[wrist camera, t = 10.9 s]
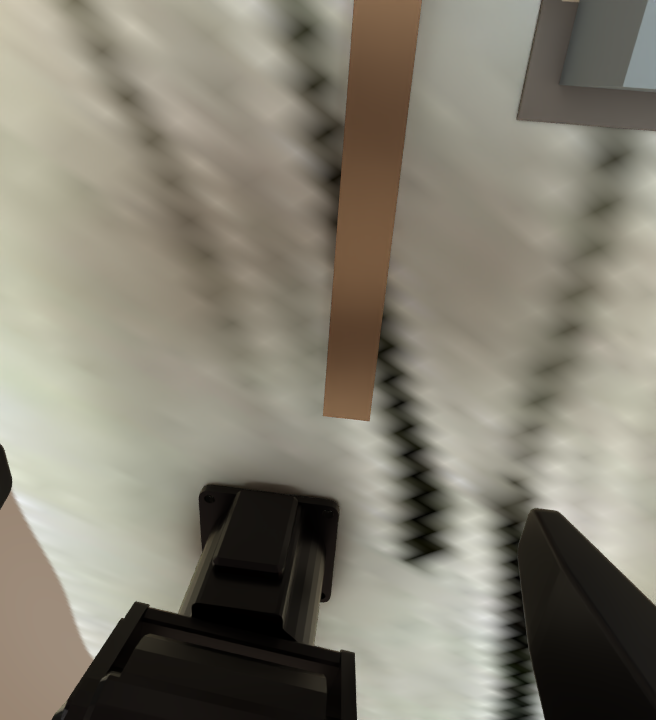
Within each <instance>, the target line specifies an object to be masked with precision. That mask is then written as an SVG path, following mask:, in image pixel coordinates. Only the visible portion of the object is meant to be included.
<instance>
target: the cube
mask: <svg viewBox="0 0 656 720" xmlns="http://www.w3.org/2000/svg"><path fill="white" fill-rule="evenodd" d="M559 85H569V86H581V87H594V88H606V89H619V90H631V91H644V92H656V0H580V1H579V5H578V9H577V13H576V17H575V21H574V25H573V29H572V33H571V37H570V42H569V46H568V50H567V54H566V58H565V62H564V66H563V70H562V74H561V79H560V83H559Z"/></svg>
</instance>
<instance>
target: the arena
mask: <svg viewBox="0 0 656 720" xmlns="http://www.w3.org/2000/svg"><path fill="white" fill-rule="evenodd" d="M579 1H580V0H542V2H541V7H540V12H539V16H538V21H537V26H536V31H535V35H534V40H533V45H532V49H531V54H530V59H529V63H528V68H527V73H526V78H525V82H524V87H523V92H522V96H521V101H520V106H519V110H518V115H517V120H525V121H537V122H550V123H562V124H575V125H588V126H600V127H613V128H625V129H638V130H651V131H656V92H644V91H631V90H619V89H606V88H594V87H581V86H569V85H559V83H560V79H561V74H562V70H563V66H564V62H565V58H566V54H567V50H568V46H569V42H570V37H571V33H572V29H573V25H574V21H575V17H576V13H577V9H578V5H579ZM421 3H422V0H354V9H353V23H352V36H351V49H350V63H349V76H348V89H347V103H346V116H345V129H344V143H343V156H342V169H341V183H340V196H339V209H338V222H337V236H336V249H335V262H334V276H333V289H332V302H331V316H330V329H329V342H328V356H327V369H326V382H325V396H324V409H323V416H328V417H337V418H345V419H354V420H363V421H369V420H370V412H371V404H372V396H373V388H374V380H375V372H376V364H377V356H378V348H379V340H380V332H381V324H382V316H383V308H384V300H385V292H386V284H387V276H388V268H389V260H390V252H391V244H392V236H393V228H394V220H395V212H396V204H397V196H398V188H399V180H400V172H401V164H402V156H403V148H404V140H405V132H406V124H407V116H408V108H409V100H410V91H411V83H412V75H413V67H414V59H415V51H416V43H417V35H418V27H419V19H420V11H421Z"/></svg>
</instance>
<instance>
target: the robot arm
mask: <svg viewBox="0 0 656 720" xmlns="http://www.w3.org/2000/svg"><path fill="white" fill-rule="evenodd" d="M11 487H12V476H11V472H10V469H9V465H8V461H7V458H6V454H5V450H4V448H3V446H2V445H1V444H0V509H1V507H2V506H3V504H4V502H5V500H6V499H7V497H8V495H9V493H10V491H11ZM208 495H211V496H213V497H209V496H208ZM199 510H200V526H201V543H202V555H201V557H200V560H199V562H198V565H197V567H196V570H195V572H194V575H193V577H192V580H191V582H190V585H189V587H188V590H187V592H186V595H185V597H184V600H183V602H182V605H181V607H180V610H179V612H178V614H177V613H172V612H168V611H164V610H160V609H155V608H151V607H149V606H150V605H149V604H145V603H141V602H137V601H135V603H134V604H133V606H132V607H131V609H130V610H129V612H128V613H127V615H126V616H125V618H121V619H120V621H119V622H118V624H117V626H116V627H115V629H114V630H113V632H112V633H111V635H110V636H109V638H108V639H107V641H106V642H105V644H104V645H103V647H102V648H101V650H100V651H99V653H98V654H97V656H96V657H95V659H94V660H93V662H92V663H91V665H90V666H89V668H88V669H87V671H86V672H85V674H84V675H83V677H82V679H81V680H80V682H79V683H78V685H77V686H76V688H75V689H74V691H73V692H72V694H71V695H70V697H69V699H68V700H67V701H66V702H65V703H64V704H63V705H62V707H61V708H60V709H59V710H58V711H57V712H56V713H55V715H54V716H53V718H52V720H357V707H356V678H355V653H354V652H349V651H345V650H340V652H338V651H334V650H330V649H326V648H321V647H317V646H314V642H315V635H316V627H317V620H318V613H319V605H320V602H327V601H328V600H329V599H330V596H331V587H332V578H333V568H334V558H335V548H336V539H337V529H338V519H339V505H338V504H337V503H336V502H334V501H332V500H328V499H320V498H312V497H303V496H295V495H287V494H279V493H271V492H263V491H255V490H247V489H239V488H231V487H223V486H215V485H207V486H204V487H203V488H202V490H201V492H200V495H199ZM325 510H330V511H332V512H326V511H325ZM518 564H519V572H520V581H521V589H522V597H523V606H524V614H525V623H526V631H527V639H528V646H529V652H530V657H531V662H532V667H533V671H534V675H535V679H536V684H537V688H538V692H539V697H540V701H541V705H542V709H543V714H544V718H545V720H656V606H655V605H654V604H653V603H652V602H651V601H650V600H649V599H648V598H647V597H646V596H645V595H644V594H643V593H642V592H641V591H640V590H639V589H638V588H637V587H636V586H635V585H634V584H633V583H632V582H631V581H630V580H629V579H628V578H627V577H626V576H625V575H624V574H623V573H622V572H621V571H620V570H618V569H617V568H616V567H615V566H614V565H613V564H612V563H611V562H610V561H609V560H608V559H607V558H606V557H605V556H604V555H603V554H602V553H601V552H600V551H599V550H598V549H597V548H596V547H595V546H594V545H593V544H592V543H591V542H590V541H589V540H588V539H587V538H586V537H585V536H584V535H583V534H581V533H580V532H579V531H578V530H577V529H576V528H575V527H574V526H573V525H572V524H571V523H570V522H569V521H568V520H567V519H566V518H565V517H564V516H563V515H562V514H561V513H559V512H558V511H555V510H547V509H539V508H534V509H532V510H531V511H530V512H529V514H528V517H527V520H526V523H525V526H524V529H523V532H522V535H521V539H520V542H519V546H518ZM321 592H322V593H321Z"/></svg>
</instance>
